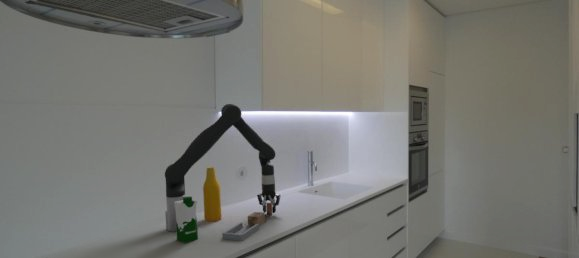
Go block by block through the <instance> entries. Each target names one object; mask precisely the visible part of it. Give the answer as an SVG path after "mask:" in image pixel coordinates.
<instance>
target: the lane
mask: <svg viewBox="0 0 579 258" xmlns="http://www.w3.org/2000/svg"><path fill="white" fill-rule="evenodd" d="M242 228H243V222H238V223H237V224H236V225H234V226H232V227H231V228H228V229H227V230H225V231H224V232H223V233H221V236H222V239H223V240H232V241H244V240H246V239H247V238H248V237H250V236H251V235H253V234H254V233H255V232H257V231H258V230H259V229H260V226H259V224H255V225H254V226H250V227H249V228H248V229H247V230H245V231H244V232H242V233H236V232H238V231H240V230H241V229H242ZM256 230H257V231H256ZM252 233H253V234H252Z"/></svg>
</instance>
